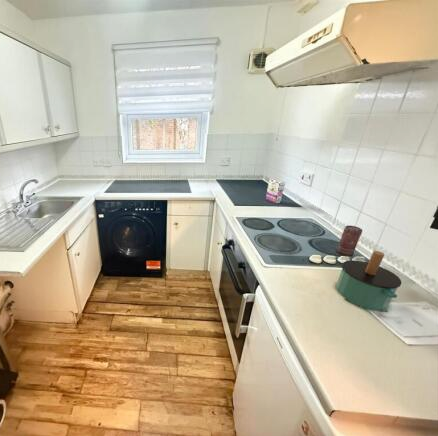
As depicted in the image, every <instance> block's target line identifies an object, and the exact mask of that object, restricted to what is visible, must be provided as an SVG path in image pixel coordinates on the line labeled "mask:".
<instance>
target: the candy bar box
mask: <svg viewBox="0 0 438 436" xmlns="http://www.w3.org/2000/svg"><path fill="white" fill-rule="evenodd" d="M285 185H286V182H285V181H282V180H278V179H275V178H274V179H269V180H268V184H267V189H266V195H265V198H264V199H265V201H267V202H270V203H272V204H275V205H279V204H281V202H282V198H283V193H284V189H285Z"/></svg>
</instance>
